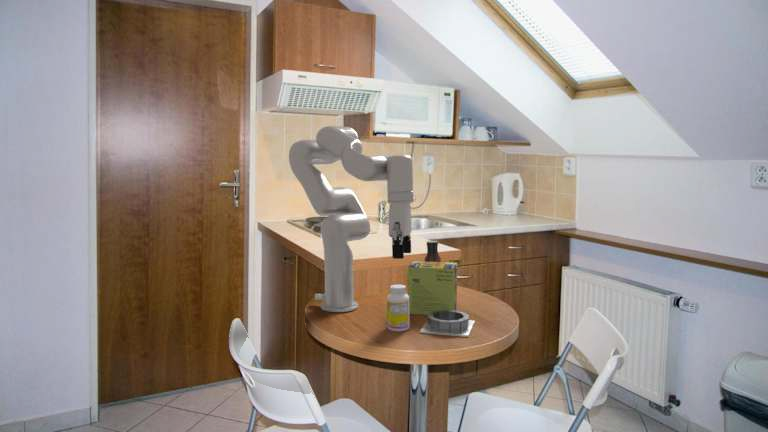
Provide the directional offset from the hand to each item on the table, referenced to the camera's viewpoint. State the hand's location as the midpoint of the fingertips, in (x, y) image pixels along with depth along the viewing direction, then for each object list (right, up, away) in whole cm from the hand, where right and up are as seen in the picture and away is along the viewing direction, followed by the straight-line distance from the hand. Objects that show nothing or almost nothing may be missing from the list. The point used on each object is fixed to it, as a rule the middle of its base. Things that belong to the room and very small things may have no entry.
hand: (402, 255), depth 161 cm
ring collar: (+14, -22, +1) cm, 26 cm away
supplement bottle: (-1, -22, +1) cm, 22 cm away
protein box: (+11, -20, +19) cm, 29 cm away
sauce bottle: (+13, -17, +39) cm, 45 cm away
